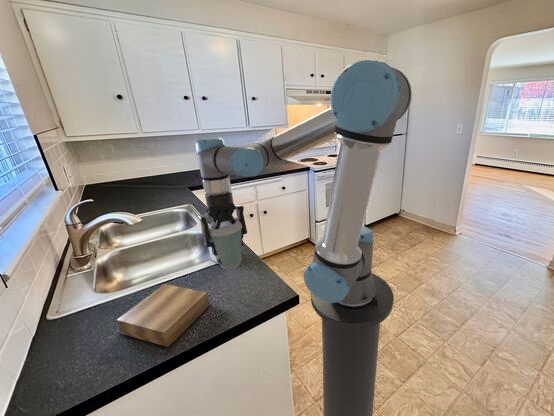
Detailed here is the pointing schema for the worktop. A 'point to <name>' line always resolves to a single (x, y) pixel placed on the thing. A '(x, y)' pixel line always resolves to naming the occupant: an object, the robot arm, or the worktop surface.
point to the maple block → (164, 314)
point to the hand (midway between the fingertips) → (230, 258)
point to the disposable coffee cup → (227, 243)
